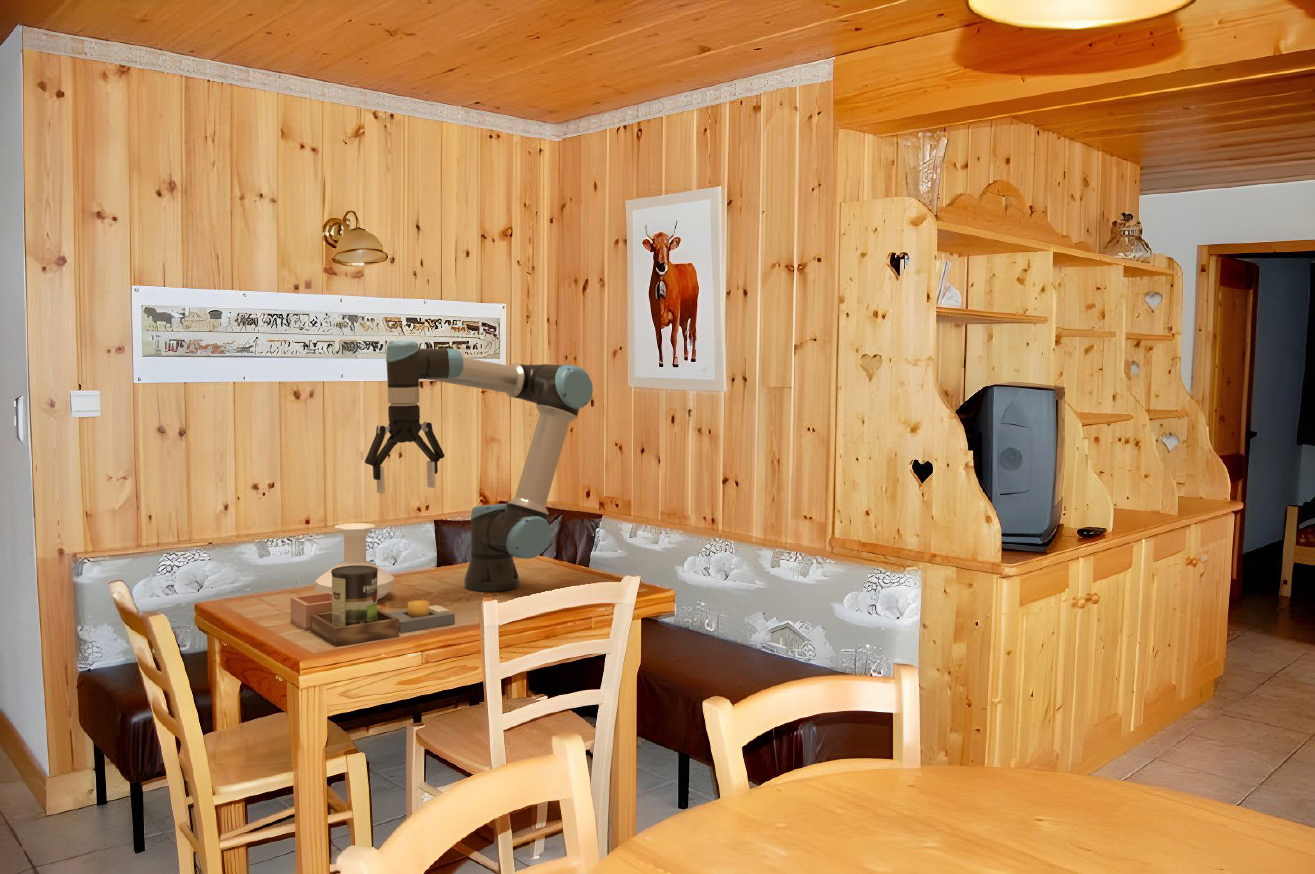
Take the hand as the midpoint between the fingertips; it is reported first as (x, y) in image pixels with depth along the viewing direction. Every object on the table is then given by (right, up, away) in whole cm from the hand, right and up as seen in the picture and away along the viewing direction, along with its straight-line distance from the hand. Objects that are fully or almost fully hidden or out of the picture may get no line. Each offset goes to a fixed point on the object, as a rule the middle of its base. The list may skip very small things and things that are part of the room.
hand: (406, 490), depth 259 cm
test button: (+5, -31, -8) cm, 32 cm away
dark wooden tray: (-8, -32, -18) cm, 38 cm away
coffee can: (-8, -32, -17) cm, 37 cm away
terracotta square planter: (-19, -31, -9) cm, 38 cm away
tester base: (+5, -32, -7) cm, 33 cm away
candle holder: (-18, -30, +17) cm, 38 cm away
